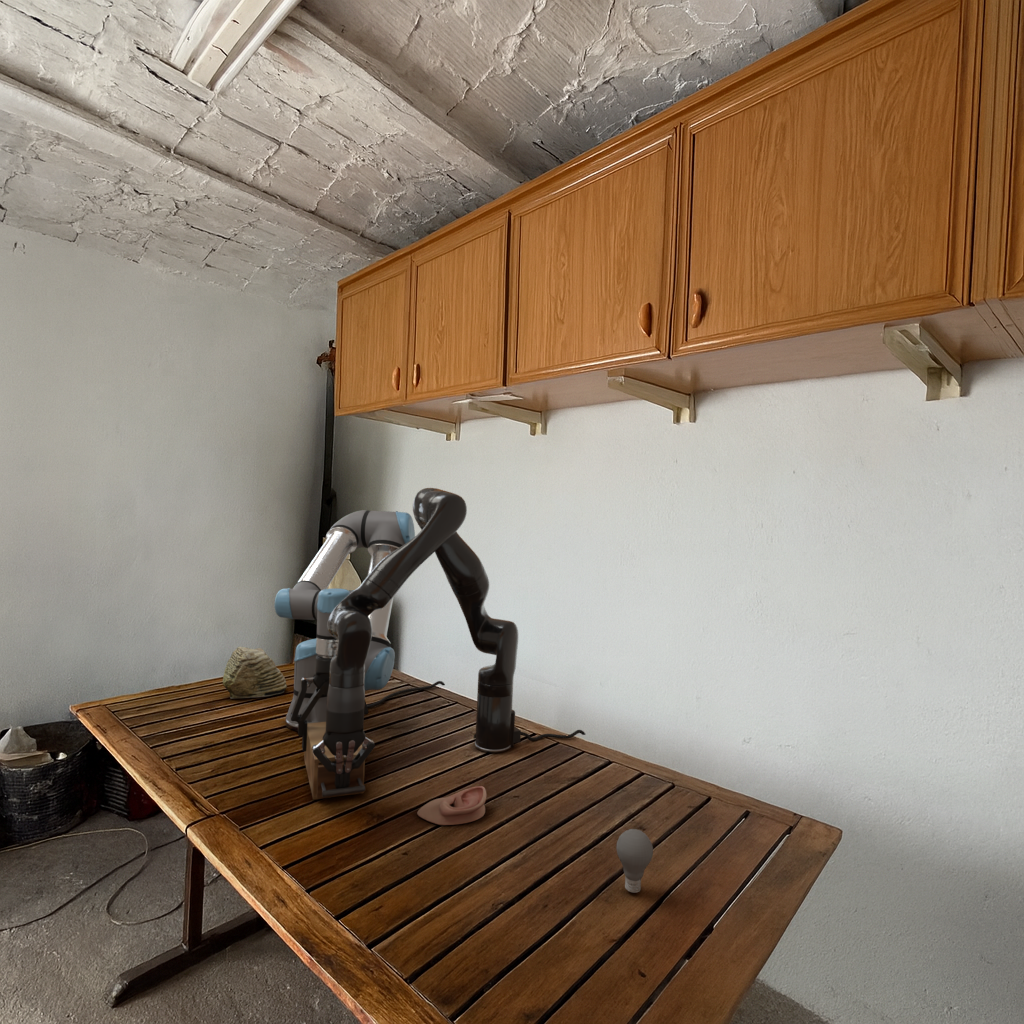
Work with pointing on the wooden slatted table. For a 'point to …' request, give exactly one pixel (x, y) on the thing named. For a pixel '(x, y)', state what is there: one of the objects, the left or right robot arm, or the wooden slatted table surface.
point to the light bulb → (634, 857)
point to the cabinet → (314, 738)
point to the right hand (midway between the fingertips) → (341, 789)
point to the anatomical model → (456, 807)
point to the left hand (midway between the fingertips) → (328, 746)
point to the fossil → (252, 674)
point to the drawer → (328, 782)
